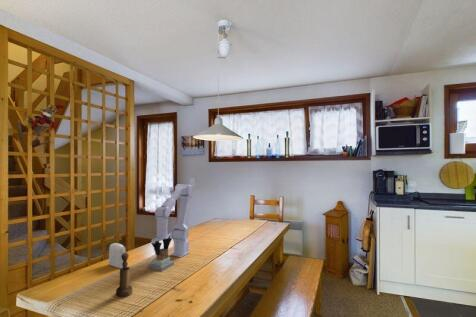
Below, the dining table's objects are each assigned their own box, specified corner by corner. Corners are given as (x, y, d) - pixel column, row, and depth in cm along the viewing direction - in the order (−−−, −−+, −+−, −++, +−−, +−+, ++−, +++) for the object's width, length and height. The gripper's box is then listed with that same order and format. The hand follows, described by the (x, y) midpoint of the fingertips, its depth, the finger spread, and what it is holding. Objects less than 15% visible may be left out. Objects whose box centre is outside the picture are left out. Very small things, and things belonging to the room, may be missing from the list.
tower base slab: (160, 262, 153) (160, 258, 153) (174, 265, 148) (174, 261, 149) (147, 268, 144) (148, 264, 144) (162, 272, 139) (162, 267, 139)
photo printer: (126, 266, 145) (126, 244, 145) (119, 269, 141) (119, 246, 141) (114, 262, 150) (115, 241, 150) (107, 265, 146) (108, 243, 146)
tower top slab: (160, 259, 151) (160, 255, 151) (170, 261, 148) (170, 257, 148) (151, 263, 144) (151, 259, 144) (161, 266, 141) (161, 261, 141)
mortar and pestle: (134, 290, 119) (135, 250, 119) (129, 297, 112) (129, 255, 112) (119, 290, 119) (120, 250, 119) (113, 297, 112) (114, 255, 112)
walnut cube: (161, 256, 149) (161, 248, 149) (168, 257, 147) (168, 249, 147) (156, 258, 145) (156, 250, 145) (162, 260, 143) (162, 252, 143)
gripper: (158, 232, 138) (158, 258, 138) (176, 226, 151) (175, 249, 151) (148, 230, 141) (148, 256, 141) (166, 225, 154) (165, 247, 154)
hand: (161, 252), depth 146 cm, fingers open, 6 cm apart
